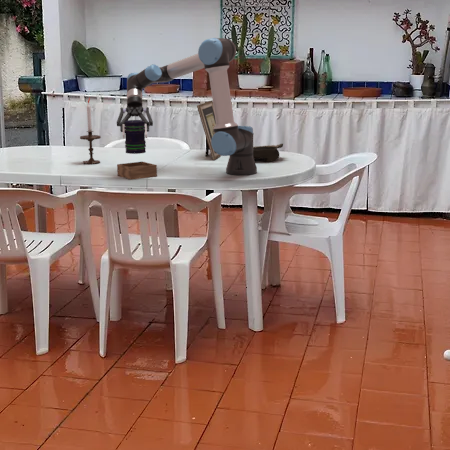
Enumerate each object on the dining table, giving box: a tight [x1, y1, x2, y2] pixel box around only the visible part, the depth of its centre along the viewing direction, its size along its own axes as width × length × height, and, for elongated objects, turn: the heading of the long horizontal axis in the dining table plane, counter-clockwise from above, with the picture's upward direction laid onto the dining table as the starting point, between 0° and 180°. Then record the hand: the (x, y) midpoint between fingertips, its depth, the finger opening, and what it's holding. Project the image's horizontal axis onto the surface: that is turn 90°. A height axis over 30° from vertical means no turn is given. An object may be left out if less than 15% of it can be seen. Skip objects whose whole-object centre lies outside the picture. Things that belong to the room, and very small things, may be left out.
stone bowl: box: [253, 143, 284, 163], centre depth 406 cm, size 25×25×9 cm
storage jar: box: [124, 119, 147, 155], centre depth 357 cm, size 10×10×15 cm
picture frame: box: [196, 100, 221, 161], centre depth 419 cm, size 33×10×30 cm, turn 168°
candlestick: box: [79, 97, 102, 165], centre depth 398 cm, size 11×11×35 cm
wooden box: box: [116, 161, 158, 181], centre depth 361 cm, size 14×14×6 cm
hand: (134, 136), depth 354 cm, fingers closed on storage jar, 10 cm apart
